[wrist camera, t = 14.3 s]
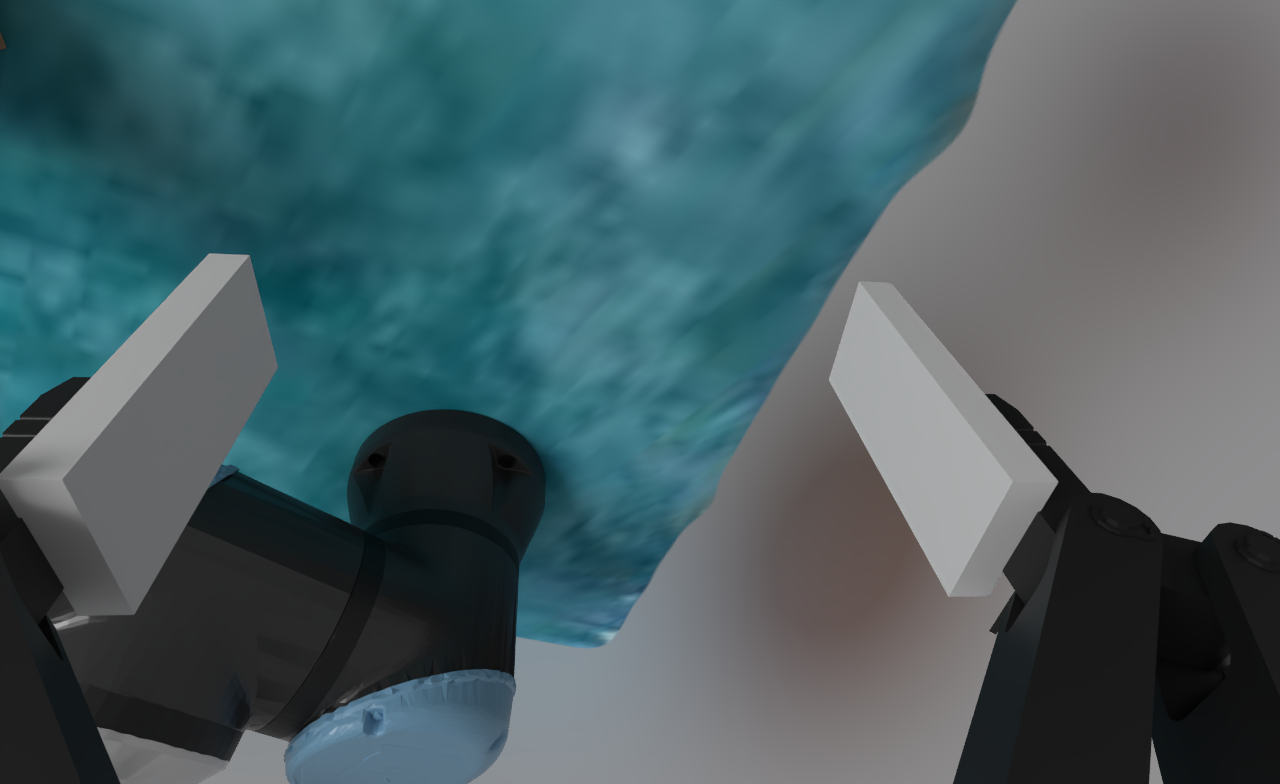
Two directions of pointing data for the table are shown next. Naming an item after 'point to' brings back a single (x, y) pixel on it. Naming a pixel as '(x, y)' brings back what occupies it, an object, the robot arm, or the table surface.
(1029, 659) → the robot arm
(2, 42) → the walnut base cube
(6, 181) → the table surface
